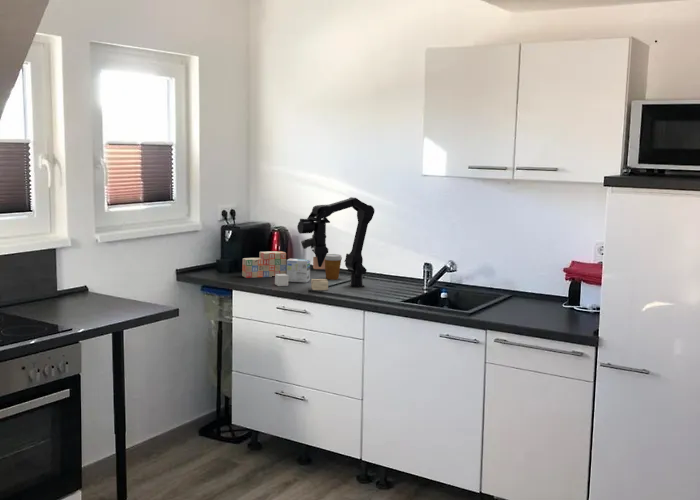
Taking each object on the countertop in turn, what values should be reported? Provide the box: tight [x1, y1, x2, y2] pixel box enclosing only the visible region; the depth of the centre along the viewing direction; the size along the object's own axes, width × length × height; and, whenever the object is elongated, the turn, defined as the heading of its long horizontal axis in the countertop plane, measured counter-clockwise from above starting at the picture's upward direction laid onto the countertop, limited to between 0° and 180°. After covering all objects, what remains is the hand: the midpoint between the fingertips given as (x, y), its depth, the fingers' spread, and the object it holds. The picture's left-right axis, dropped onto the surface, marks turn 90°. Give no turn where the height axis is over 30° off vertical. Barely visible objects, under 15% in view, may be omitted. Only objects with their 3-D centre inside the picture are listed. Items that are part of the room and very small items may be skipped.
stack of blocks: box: [241, 250, 287, 279], centre depth 390 cm, size 21×6×12 cm, turn 116°
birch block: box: [310, 278, 329, 291], centre depth 359 cm, size 7×7×4 cm
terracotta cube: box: [312, 256, 325, 270], centre depth 358 cm, size 5×5×5 cm
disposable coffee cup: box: [324, 253, 343, 281], centre depth 388 cm, size 10×10×12 cm
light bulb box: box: [286, 258, 311, 283], centre depth 378 cm, size 11×7×11 cm, turn 80°
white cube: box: [274, 274, 289, 287], centre depth 366 cm, size 5×5×5 cm
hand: (319, 265), depth 358 cm, fingers closed on terracotta cube, 5 cm apart
